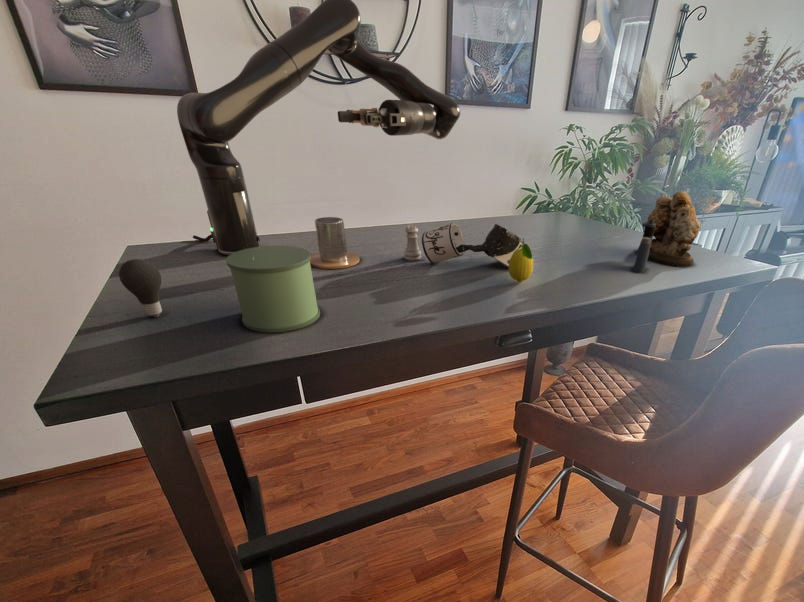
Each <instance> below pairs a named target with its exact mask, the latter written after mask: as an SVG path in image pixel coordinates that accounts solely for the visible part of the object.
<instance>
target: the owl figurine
mask: <svg viewBox="0 0 804 602" xmlns="http://www.w3.org/2000/svg"><path fill="white" fill-rule="evenodd" d="M650 219H653V220H654V223H655V224H656V226H655V230H654V234H653V238H652V242H651V246H650V251H649V256H648V259H647V260H650V261H652V262H655V263H659V264H661V265H667V266H676V267H690V266H692V265H693V263H694V258H693V257H692V256H691V254H690V252H688V251H690V250H691V248H692V247H691V245H692V244H693V243H694V242H695V240H696V238H698V235H699V232H700V228H701V223H700V222H699V220H698V218H697V215H696V208H695V206H694V205H693V204H692V200H691V196H690V195H689V193H688V192H686V191H685V190H684V191H683V190H680V191H677V192H675V193H674V194H673V195H672V197H670V196H669V195H663V196H660V197H658V198H657V199H656V204H655V207H654V208H653V209H652V211H651V213H649V214H648V216H647V221H646V222H643V223H642V225H641V226H642V227H643V228H645V227H646V226H645V225H646V223H649V220H650ZM638 249H639V247H638V248H637V250H638Z"/></svg>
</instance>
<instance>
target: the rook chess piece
mask: <svg viewBox="0 0 804 602" xmlns="http://www.w3.org/2000/svg"><path fill="white" fill-rule="evenodd" d="M404 232H406V236H405V237H406V248H405V250H404V251H403V254H404V255H403V258H404V259H405V260H406V261H409V262H417V261H420V260H421V259H422V251H421V250H420V247H419V244H418V232H419V229H418V226H417V225H415V224H414V225H413V224H407V225H406V228H405V229H404Z"/></svg>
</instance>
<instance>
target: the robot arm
mask: <svg viewBox="0 0 804 602" xmlns="http://www.w3.org/2000/svg"><path fill="white" fill-rule="evenodd" d="M361 19H362V17H361V13H360V10H359V8H358V6H357V5H356V3H355V2H354V1H352V0H323V1H322V2H321V3H320V4H319V5H318V6H317V7H316V8H315V9H314V10H313V11H312V12H311V13H310V14H309V15H307V17H305V18H304V19H303V20H302V21H300V22H299V23H297V24H295V25H294V26H292V27H291V28H290V29H288V30H287V31H285V32H284V33H283V34H281V35H280V36H277V38H275V39H274V40H272V41H270V42H268V43H267V44H266V45H264V46H263V47H261V48H259V49H258V50H257V51H256V52H255V53H253V55H251V56H250V58H249V59H248V60H247V62H246V64H245V65H244V66H243V68H242V70H241V71H240V73H238V75H237V76H236V77H235V78H234V79H232V80H231V81H229V82H228V83H225V84H224V85H221V86H220V87H218V88H217V89H214V90H212V91H210V92H205V93H204V92H189V93H185V94H184V95H182V96H181V97H180V98H179V100H178V102H177V105H176V116H177V122H178V124H179V128H180V132H181V134H182V137H183V141H184V144H185V147H186V150H187V153H188V157H189V159H190V161H191V162H192V165H193V166H194V168H195V169H196V173H197V176H198V179H199V182H200V183H199V184H200V186H201V190H202V193H203V197H204V200H205V204H206V208H207V210H206V212H207V214H206V215H207V217H208V220H209V224H210V234H208V235H207V236H206V237H201V236H198V235H194V234H193V235H192V239H194V240H197V241H199V242H203V243H204V242H209V241H210V240H212V242H213V243H214V244H215V246H216V250H217V251H218V253H219V254H220V255H224V256H227V257H228V256H229V255H231V254H233V253H235V252H237V251H240V250H244V249H248V248H254V247H261V245H260V243H259V242H261V241H260V237H259V236H258V234H257V229H256V224H255V220H254V215H253V211H252V206H251V201H250V197H249V193H248V189H247V184H246V181H245V176H244V171H243V167H242V165H241V162H240V161H239V160H238V159H237V158H236V157H235V155H234V154H233V153H232V150H231V147H230V144H229V142H230V141H232V140H233V139H234V138H235V137H236V136H238V135H239V134H240V133H241V132H242V131H243V130H244V129H245V127H247V125H249V124H250V122H252V121H253V120H254V118H255V117H257V116H258V115H259V114H260V113H262V112H263V111H264V110H266V109H267V108H269V107H271V106H272V105H274V104H275V103H276V102H279V100H281V99H282V98H283V97H285V96H287V95H289V94H290V93H291V92H292V91H294V90H295V89H296V88H298V87H299V86H301V85H302V83H304V82H305V81H306V80H307V79H308V77H309V76H310V74H311V73H312V72H313V70H314V69H315V67H316V65H317V64H318V63H319V61H320V60H321V58H322V57H323V55H324V54H326V52H327V51H328V52H330V53H331V54H332V55H333V56H335V57H336V58H338V59H340V60H341V61H342V62H344V63H346V64H347V65H349V66H350V67H352V68H353V69H355V70H357V71H359V72H360V73H362V74H364V75H365V76H367V77H368V78H370V79H371V80H373V81H375V82H376V83H378V84H379V85H381V86H382V87H384V89H386V90H388V91H389V92H390V93H391V94H392V95H393V96H395V97H396V98H397V99H385V100H384V101H383V102H381V104H380V105H379V107H371V108H359V110H355V109H346V110H338V111H337V120H338V122H339V123H349V124H360V125H361V126H363V127H366V126H367V127H373V128H381V129H382V131H383V132H384V133H385V134H386V135H387V136H391V137H393V136H394V137H395V136H412V135H416V134H417V135H419V134H424V135H427V136H430V137H432V138H434V139H436V140H443V139H445V138H446V137H448V135H450V133H451V131H452V129H453V128H454V126H455V125H456V123H457V122H458V120H459V119H460V116H461V109H460V108H461V107H460V106H459V104H458V103H457V101H456V100H455V99H454V98H452V97H450V96H449V95H446V94H445V93H442V92H440V91H438V90H436V89H434V88H432V87H431V86H429V85H427V84H426V83H424V81H422V80H421V79H420V78H419V77H418V76H416V75H415V74H414V73H413V72H412V71H410V69H409V68H407V67H406V66H403V65H402V64H400V63H398V62H395V61H393V60H389V59H385V58H382V57H380V56H378V55H375V54H374V53H372V52H370V51H369V50H368V49H366V47H364V46H363V45H362V44H361V42H359V40H358V39H359V36H360V35H359V34H360V31H361V25H362V20H361Z"/></svg>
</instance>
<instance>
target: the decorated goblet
mask: <svg viewBox="0 0 804 602" xmlns="http://www.w3.org/2000/svg"><path fill="white" fill-rule="evenodd" d="M464 238H465V237H464V235H463V232H462V231H461V228H460V227H459V225H457V223H456V222H455V223H454V222H451V223H448V224H445V225H442V226H439V227H436V228H432V229H430V230H426V231H424V232H423V233H422V235H421V245H422V250H423V252H424V255H425V257H426V258H427V260H428V261H429V262H430V263H431V264H438V263H441V262H446V261H448V260H452V259H455V258H459V257H462V256H464V254H465V252H467V251H472V252H473V253H481V252H484V254H485V255H487V256H488V257H489V258H493V259H494V260H496V261H498V262H500V264H503V265H504V266H506V267H507V268H509V262H510V259H511V256H512V255H513V253H514V252H515V251H516V250H517V249H518V248H519V246H520V245H522V244H523V240H522V238H521V237H519V236H518V235H516V234H515V233H513V232H512V231H510V230H509V229H507V228H505V227H503V226H501V225H500V224H497V223H495V224H494V225H493V227H492V228H491V229H490V230H489V232H488V233H487V235H486V237H485V241H483V243H482V244H477V245H473V244H466V243H465V239H464ZM524 244H526V243H525V242H524ZM523 246H524V245H523ZM521 248H522V247H521ZM521 248H520V249H521ZM520 249H519V250H520Z"/></svg>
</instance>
